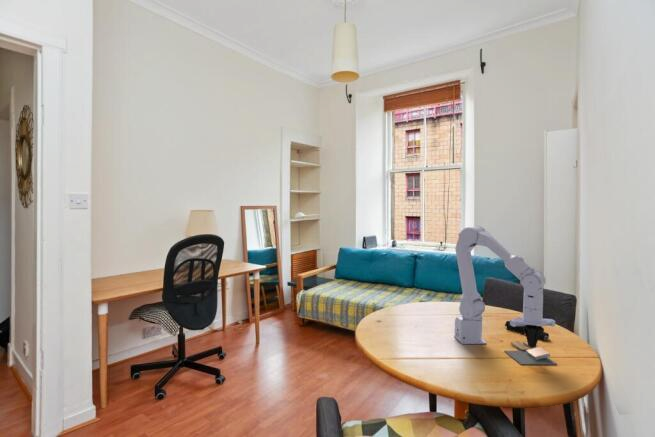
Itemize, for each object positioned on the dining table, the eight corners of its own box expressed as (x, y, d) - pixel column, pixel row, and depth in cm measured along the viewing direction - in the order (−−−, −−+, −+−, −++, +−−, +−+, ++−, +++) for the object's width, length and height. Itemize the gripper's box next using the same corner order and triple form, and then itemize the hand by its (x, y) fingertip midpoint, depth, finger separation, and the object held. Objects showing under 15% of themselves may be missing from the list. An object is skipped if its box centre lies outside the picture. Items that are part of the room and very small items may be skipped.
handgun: (558, 337, 136) (543, 342, 129) (516, 323, 150) (500, 327, 144) (559, 329, 135) (544, 334, 129) (516, 316, 150) (501, 320, 144)
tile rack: (521, 352, 119) (522, 349, 119) (510, 344, 126) (510, 341, 126) (543, 352, 120) (543, 349, 120) (530, 343, 127) (530, 341, 127)
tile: (535, 356, 112) (549, 353, 112) (526, 350, 117) (539, 346, 117) (535, 360, 112) (550, 356, 113) (526, 353, 117) (540, 350, 118)
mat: (521, 365, 110) (521, 363, 110) (504, 351, 120) (504, 350, 120) (556, 364, 110) (556, 363, 110) (537, 351, 120) (537, 350, 120)
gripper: (518, 311, 110) (517, 351, 111) (562, 310, 110) (560, 351, 111) (506, 304, 117) (505, 342, 118) (547, 304, 117) (546, 342, 118)
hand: (531, 346), depth 115 cm, fingers closed
